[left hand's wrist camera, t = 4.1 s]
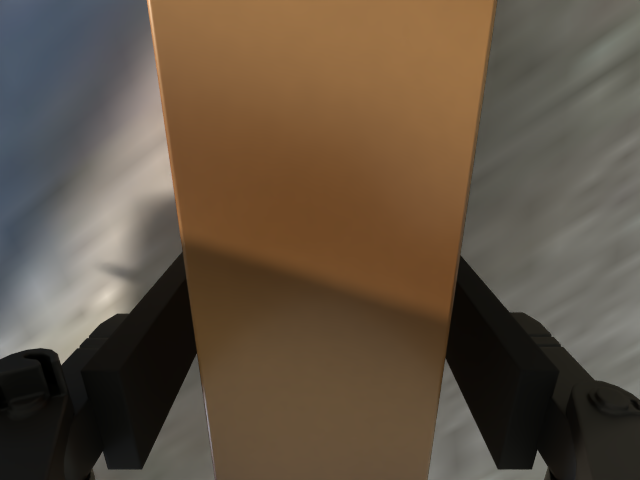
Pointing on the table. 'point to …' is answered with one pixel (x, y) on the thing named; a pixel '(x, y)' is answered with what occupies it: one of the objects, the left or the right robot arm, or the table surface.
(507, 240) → the table surface
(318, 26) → the bar
